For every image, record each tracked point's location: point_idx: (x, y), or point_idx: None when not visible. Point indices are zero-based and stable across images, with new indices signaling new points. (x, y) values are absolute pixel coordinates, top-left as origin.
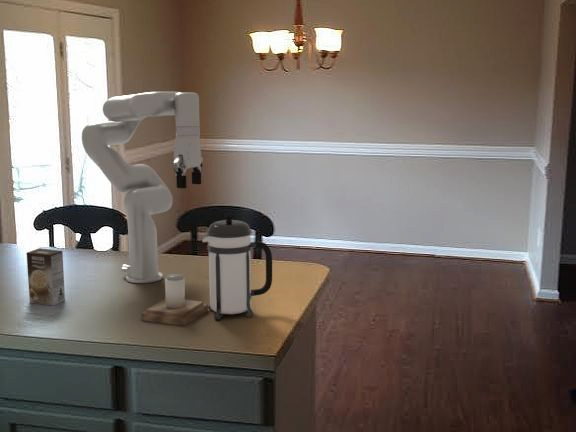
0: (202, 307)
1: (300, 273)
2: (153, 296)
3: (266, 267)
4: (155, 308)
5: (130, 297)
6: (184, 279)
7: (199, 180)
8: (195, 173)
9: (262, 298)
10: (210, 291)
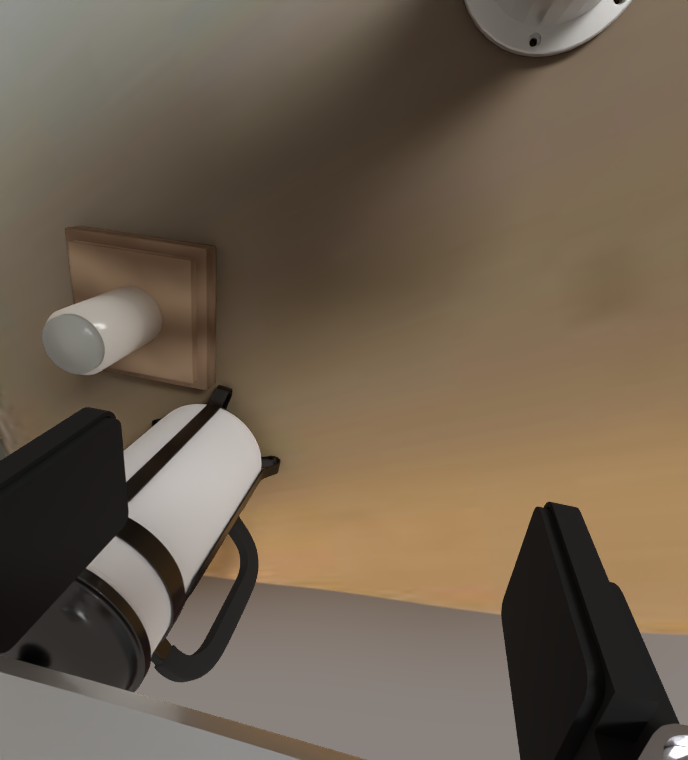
0: (178, 383)
1: (674, 571)
2: (297, 148)
3: (220, 610)
4: (87, 267)
5: (260, 55)
6: (90, 374)
7: (509, 651)
8: (555, 725)
9: (363, 496)
10: (143, 434)
